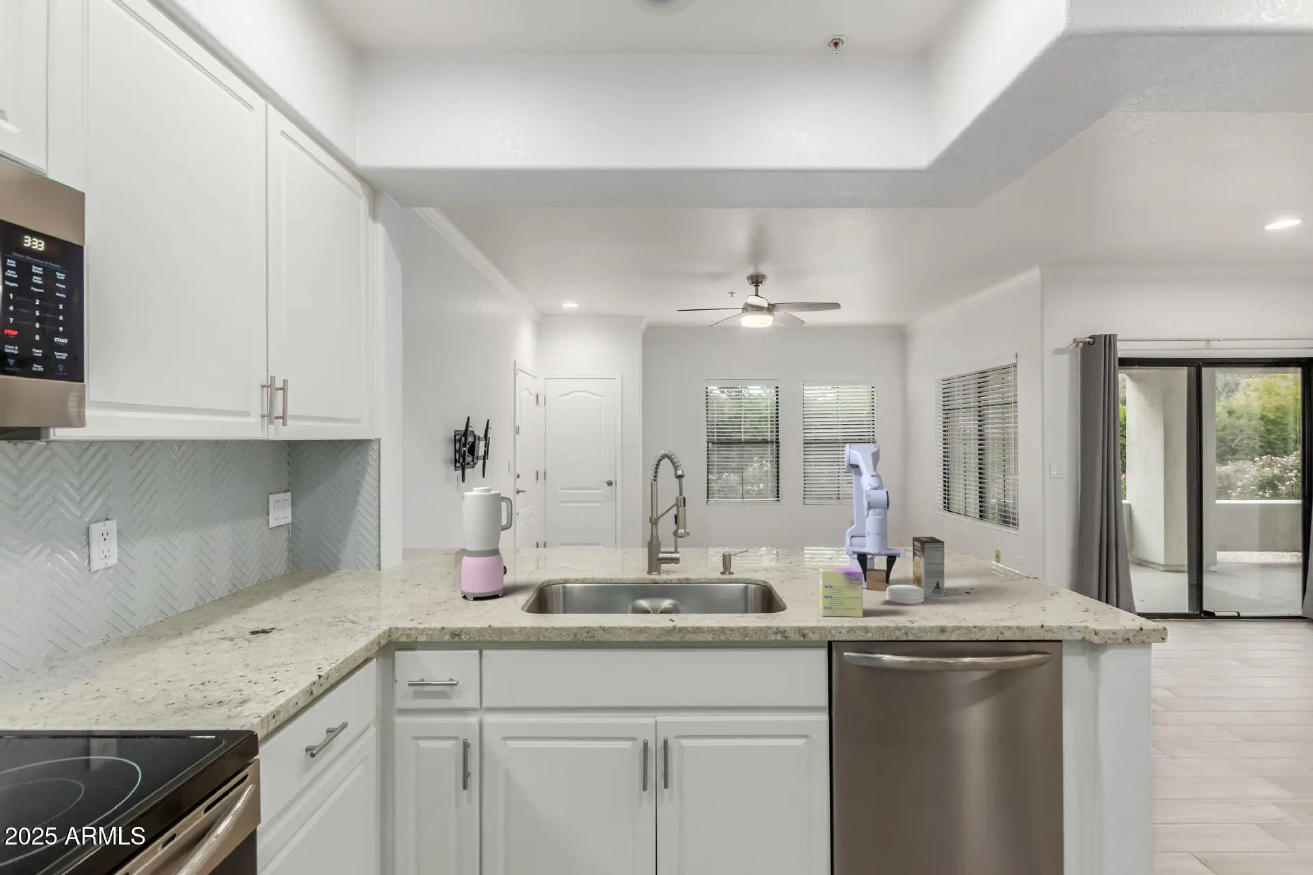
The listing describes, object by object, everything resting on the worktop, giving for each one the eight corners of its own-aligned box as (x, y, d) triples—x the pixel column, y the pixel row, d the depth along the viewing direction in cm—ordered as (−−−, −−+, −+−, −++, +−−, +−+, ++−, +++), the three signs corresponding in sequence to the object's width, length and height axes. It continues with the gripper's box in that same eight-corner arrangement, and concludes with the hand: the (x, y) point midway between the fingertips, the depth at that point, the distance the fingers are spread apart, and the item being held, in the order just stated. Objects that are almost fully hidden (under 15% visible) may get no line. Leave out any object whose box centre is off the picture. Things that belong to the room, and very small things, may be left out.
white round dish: (886, 603, 184) (885, 590, 184) (887, 595, 193) (887, 583, 193) (924, 606, 180) (924, 593, 180) (923, 597, 190) (923, 585, 190)
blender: (468, 603, 187) (467, 490, 187) (455, 594, 197) (454, 487, 197) (520, 595, 196) (520, 487, 196) (505, 587, 206) (504, 485, 206)
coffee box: (911, 589, 199) (911, 536, 199) (933, 589, 199) (932, 536, 199) (923, 596, 190) (923, 541, 190) (945, 596, 190) (945, 541, 190)
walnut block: (868, 585, 185) (868, 568, 185) (887, 587, 183) (886, 569, 183) (866, 589, 181) (866, 571, 181) (885, 591, 179) (885, 573, 179)
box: (858, 611, 175) (858, 567, 175) (863, 617, 169) (862, 571, 169) (818, 610, 176) (818, 566, 176) (821, 616, 170) (821, 570, 170)
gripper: (847, 533, 181) (847, 582, 181) (903, 536, 176) (904, 587, 176) (850, 530, 188) (850, 577, 188) (904, 532, 182) (905, 581, 182)
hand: (876, 582), depth 182 cm, fingers closed on walnut block, 5 cm apart
